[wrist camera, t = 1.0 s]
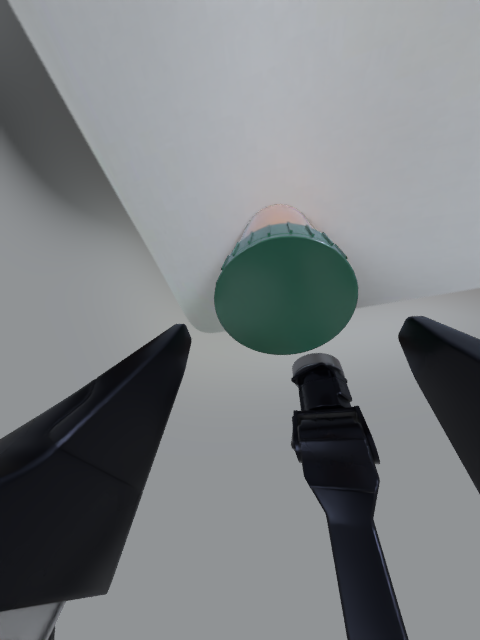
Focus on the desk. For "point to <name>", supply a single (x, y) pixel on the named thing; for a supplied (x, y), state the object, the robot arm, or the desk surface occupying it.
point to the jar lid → (285, 290)
